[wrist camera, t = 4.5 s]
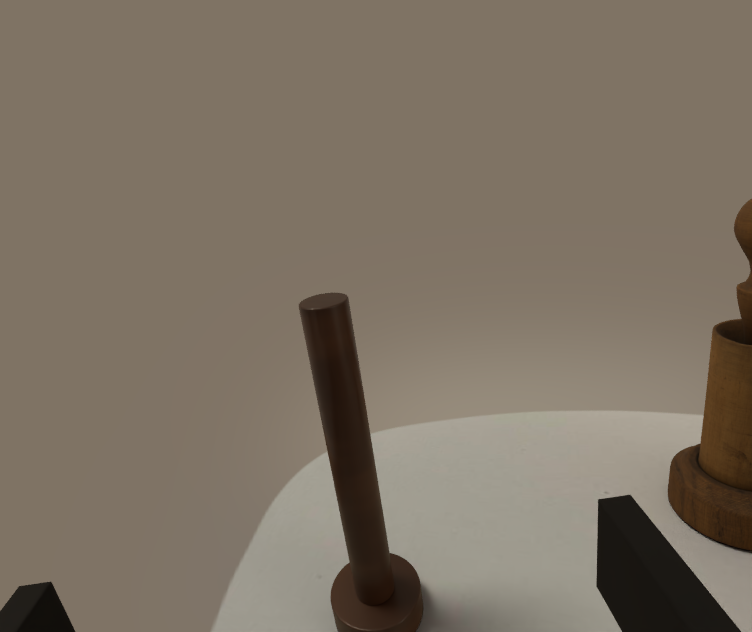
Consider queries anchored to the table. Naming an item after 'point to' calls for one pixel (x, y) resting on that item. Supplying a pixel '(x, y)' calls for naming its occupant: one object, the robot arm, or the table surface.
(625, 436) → the table surface
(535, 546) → the table surface
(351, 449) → the stick
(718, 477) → the mortar and pestle
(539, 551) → the table surface
